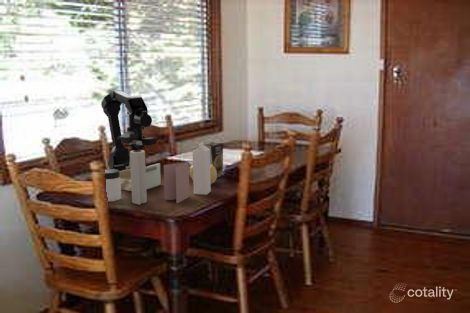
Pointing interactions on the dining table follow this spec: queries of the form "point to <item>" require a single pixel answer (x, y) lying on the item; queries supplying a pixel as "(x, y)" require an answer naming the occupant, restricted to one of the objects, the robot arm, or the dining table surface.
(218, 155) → the coffee box
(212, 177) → the sculpture
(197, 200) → the dining table surface
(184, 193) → the greeting card
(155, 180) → the pale grey-green rectangular panel
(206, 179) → the milk
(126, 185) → the beige shallow tray
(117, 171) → the jar
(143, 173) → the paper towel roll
